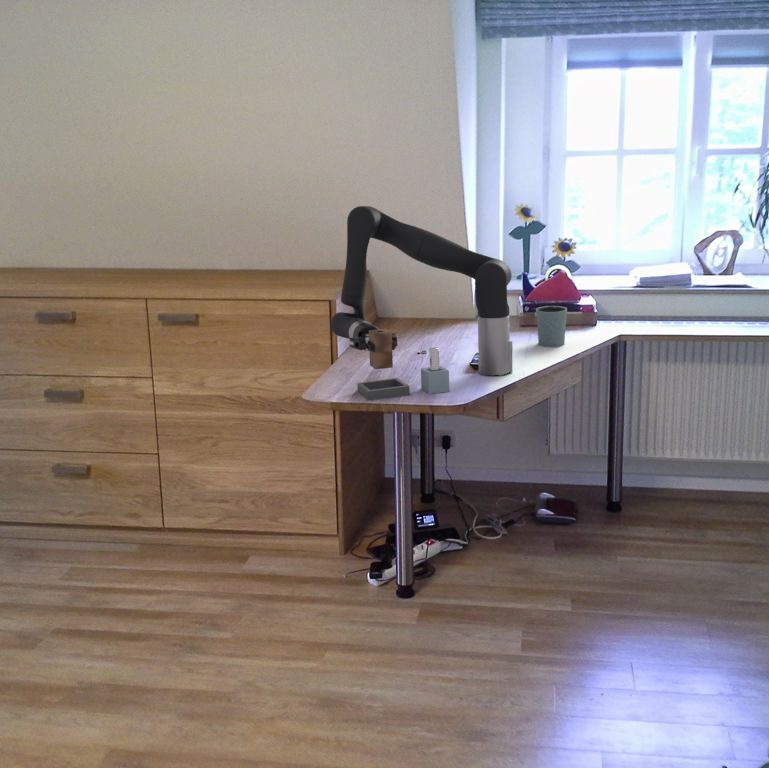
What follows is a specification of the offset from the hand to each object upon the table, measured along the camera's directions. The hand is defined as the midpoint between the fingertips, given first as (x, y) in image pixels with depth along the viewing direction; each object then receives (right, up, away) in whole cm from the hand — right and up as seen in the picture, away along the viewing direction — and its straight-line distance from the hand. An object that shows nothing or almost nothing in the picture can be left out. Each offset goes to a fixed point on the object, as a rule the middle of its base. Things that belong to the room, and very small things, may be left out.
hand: (383, 347), depth 252 cm
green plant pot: (+56, +3, +56) cm, 79 cm away
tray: (0, -13, +6) cm, 14 cm away
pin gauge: (+14, -12, +6) cm, 20 cm away
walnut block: (-1, -5, +4) cm, 7 cm away
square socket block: (+14, -12, +6) cm, 20 cm away
